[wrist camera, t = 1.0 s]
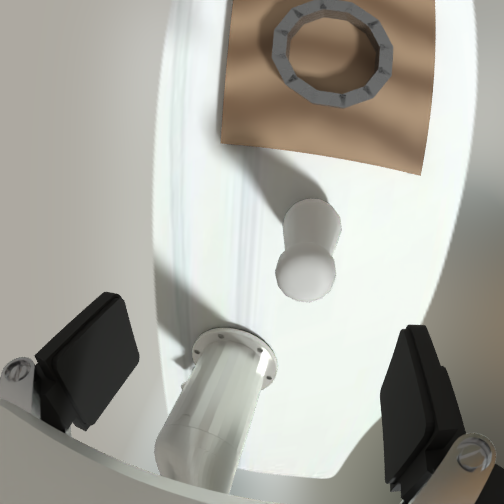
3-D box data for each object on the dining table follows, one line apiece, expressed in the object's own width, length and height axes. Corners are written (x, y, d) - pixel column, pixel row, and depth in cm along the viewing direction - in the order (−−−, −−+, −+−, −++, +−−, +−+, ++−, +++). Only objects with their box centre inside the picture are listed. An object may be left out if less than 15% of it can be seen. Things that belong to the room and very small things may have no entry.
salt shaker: (281, 197, 32) (253, 246, 20) (335, 188, 30) (341, 235, 19) (291, 248, 34) (272, 319, 23) (343, 241, 32) (349, 312, 21)
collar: (382, 116, 25) (387, 116, 23) (272, 99, 27) (267, 98, 24) (389, 18, 20) (394, 11, 18) (281, 3, 22) (277, -6, 20)
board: (416, 172, 27) (420, 175, 26) (225, 142, 31) (220, 143, 29) (430, -2, 19) (434, -6, 17) (240, -27, 22) (237, -33, 21)
